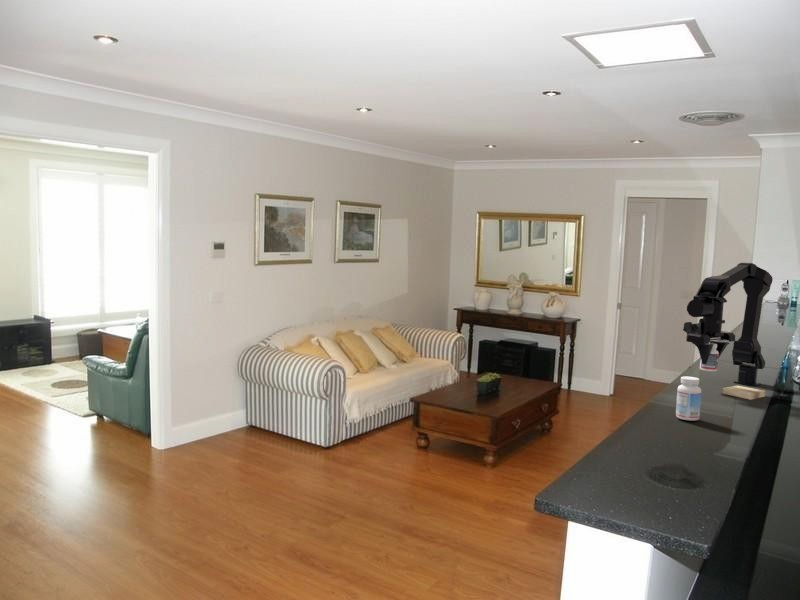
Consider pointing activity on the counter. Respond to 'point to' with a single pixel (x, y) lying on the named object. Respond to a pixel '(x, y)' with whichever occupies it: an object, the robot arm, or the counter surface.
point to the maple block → (744, 392)
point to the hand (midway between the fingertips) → (709, 363)
